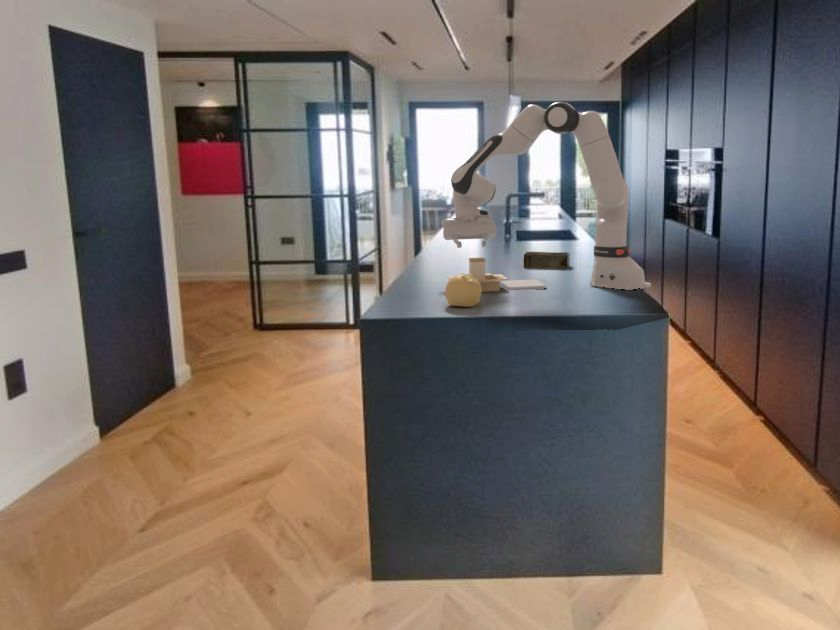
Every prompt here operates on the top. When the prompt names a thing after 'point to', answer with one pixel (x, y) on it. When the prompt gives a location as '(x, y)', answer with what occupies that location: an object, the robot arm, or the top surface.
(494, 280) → the carton
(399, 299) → the top surface
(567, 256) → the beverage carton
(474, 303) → the sculpture
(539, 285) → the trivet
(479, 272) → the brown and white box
